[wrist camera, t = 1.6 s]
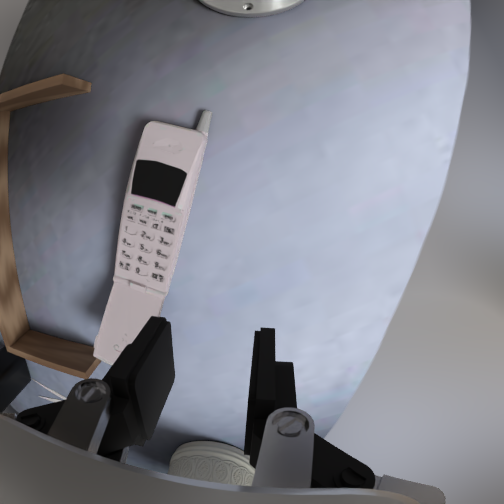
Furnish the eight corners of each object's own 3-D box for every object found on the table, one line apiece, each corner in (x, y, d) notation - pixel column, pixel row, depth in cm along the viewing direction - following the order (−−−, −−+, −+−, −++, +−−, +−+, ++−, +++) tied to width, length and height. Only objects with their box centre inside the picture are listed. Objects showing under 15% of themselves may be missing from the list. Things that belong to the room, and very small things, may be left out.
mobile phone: (91, 358, 26) (134, 89, 19) (114, 330, 32) (159, 101, 25) (145, 381, 27) (209, 104, 19) (162, 348, 32) (221, 115, 25)
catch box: (6, 105, 24) (-21, 103, 20) (91, 83, 24) (63, 73, 19) (27, 334, 33) (7, 351, 29) (105, 355, 33) (87, 379, 28)
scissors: (142, 446, 38) (41, 409, 38) (143, 443, 39) (43, 406, 39) (133, 403, 35) (23, 363, 35) (135, 399, 36) (26, 361, 36)
